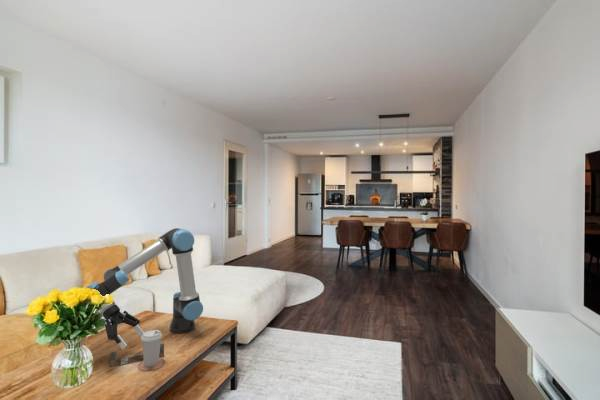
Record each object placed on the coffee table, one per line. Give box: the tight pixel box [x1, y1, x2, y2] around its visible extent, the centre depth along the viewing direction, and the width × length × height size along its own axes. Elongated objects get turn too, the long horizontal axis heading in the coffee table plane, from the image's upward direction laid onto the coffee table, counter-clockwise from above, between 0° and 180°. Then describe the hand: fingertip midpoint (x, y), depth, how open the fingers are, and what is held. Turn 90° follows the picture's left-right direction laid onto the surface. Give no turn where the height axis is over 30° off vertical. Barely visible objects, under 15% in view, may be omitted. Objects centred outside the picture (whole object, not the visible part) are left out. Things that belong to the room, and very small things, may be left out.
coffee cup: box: [140, 329, 163, 367], centre depth 159 cm, size 10×10×15 cm
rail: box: [109, 342, 166, 372], centre depth 158 cm, size 24×15×6 cm, turn 118°
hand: (134, 341), depth 161 cm, fingers open, 13 cm apart
